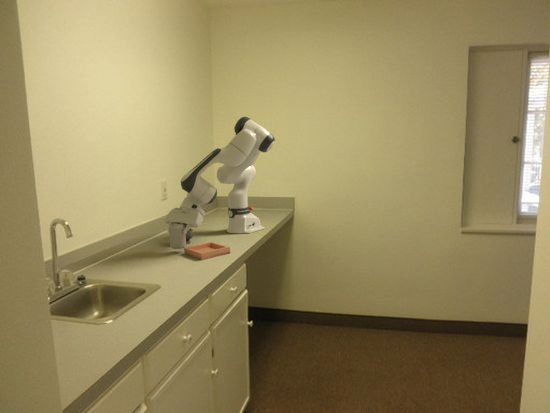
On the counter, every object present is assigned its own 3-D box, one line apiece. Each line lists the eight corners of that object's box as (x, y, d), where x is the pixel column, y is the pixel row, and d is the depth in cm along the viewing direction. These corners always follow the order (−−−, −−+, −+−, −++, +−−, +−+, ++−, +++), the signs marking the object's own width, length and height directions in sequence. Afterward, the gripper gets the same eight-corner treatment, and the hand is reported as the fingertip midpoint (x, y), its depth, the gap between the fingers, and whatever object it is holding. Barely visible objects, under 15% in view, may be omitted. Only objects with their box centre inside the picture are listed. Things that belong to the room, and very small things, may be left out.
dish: (212, 247, 207) (211, 241, 207) (230, 253, 196) (229, 246, 195) (184, 254, 197) (184, 247, 197) (202, 260, 186) (201, 253, 185)
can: (189, 245, 202) (187, 221, 200) (180, 249, 195) (179, 224, 193) (175, 244, 205) (174, 220, 203) (167, 248, 198) (165, 224, 196)
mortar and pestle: (188, 245, 213) (186, 222, 211) (171, 245, 215) (169, 222, 214) (197, 240, 224) (195, 218, 222) (181, 239, 226) (179, 218, 224)
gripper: (169, 203, 208) (156, 227, 201) (201, 206, 198) (189, 230, 191) (176, 211, 213) (164, 234, 206) (208, 214, 202) (196, 238, 196)
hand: (176, 232), depth 198 cm, fingers closed on can, 7 cm apart
